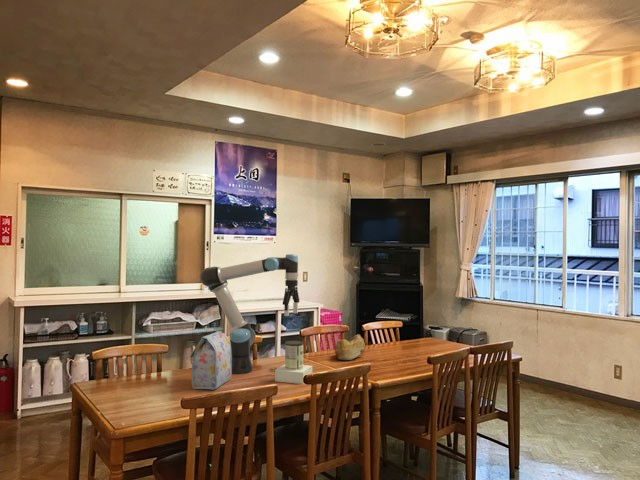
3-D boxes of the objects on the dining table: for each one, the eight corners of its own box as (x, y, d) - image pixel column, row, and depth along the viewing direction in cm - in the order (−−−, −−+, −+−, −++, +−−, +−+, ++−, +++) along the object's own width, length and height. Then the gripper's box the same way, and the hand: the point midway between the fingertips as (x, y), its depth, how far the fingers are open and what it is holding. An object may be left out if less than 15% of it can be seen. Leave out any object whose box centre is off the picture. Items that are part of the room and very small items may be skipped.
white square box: (274, 381, 260) (275, 369, 260) (285, 374, 276) (285, 363, 276) (302, 384, 256) (303, 372, 256) (312, 376, 271) (312, 365, 271)
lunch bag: (204, 377, 265) (205, 329, 266) (233, 379, 262) (234, 330, 263) (186, 389, 243) (187, 336, 243) (218, 391, 240) (219, 337, 241)
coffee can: (286, 365, 271) (286, 340, 272) (304, 366, 270) (304, 340, 271) (283, 369, 261) (283, 343, 261) (301, 370, 260) (302, 344, 260)
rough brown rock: (350, 354, 334) (349, 332, 335) (368, 356, 322) (367, 334, 323) (326, 360, 318) (325, 337, 319) (344, 362, 306) (343, 339, 307)
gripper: (289, 280, 282) (288, 317, 281) (304, 278, 305) (304, 312, 305) (277, 280, 284) (276, 316, 284) (293, 278, 308) (293, 311, 307)
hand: (291, 314), depth 294 cm, fingers open, 13 cm apart
